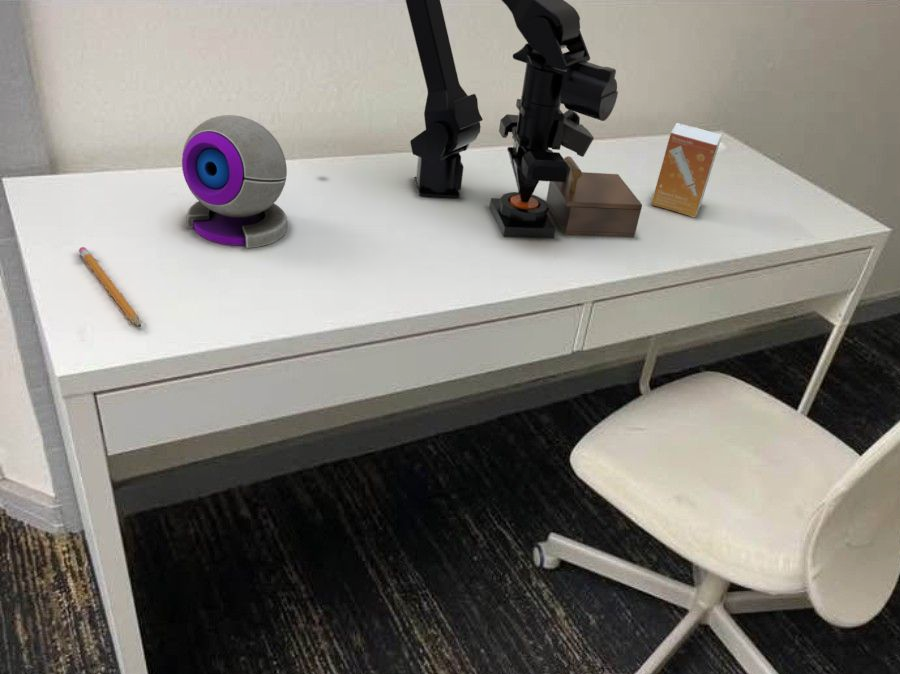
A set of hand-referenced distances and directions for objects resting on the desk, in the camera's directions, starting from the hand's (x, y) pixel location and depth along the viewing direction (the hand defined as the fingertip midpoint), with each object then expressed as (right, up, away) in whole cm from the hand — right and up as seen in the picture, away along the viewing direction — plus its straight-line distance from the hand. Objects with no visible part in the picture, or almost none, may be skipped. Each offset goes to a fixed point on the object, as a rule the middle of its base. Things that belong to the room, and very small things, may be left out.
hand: (524, 201), depth 130 cm
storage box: (+10, -1, +7) cm, 13 cm away
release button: (0, -1, +1) cm, 2 cm away
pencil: (-48, -18, -31) cm, 60 cm away
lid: (+11, +2, +4) cm, 12 cm away
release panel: (-1, -3, +2) cm, 4 cm away
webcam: (-39, -7, -13) cm, 42 cm away
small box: (+26, +3, +18) cm, 32 cm away
